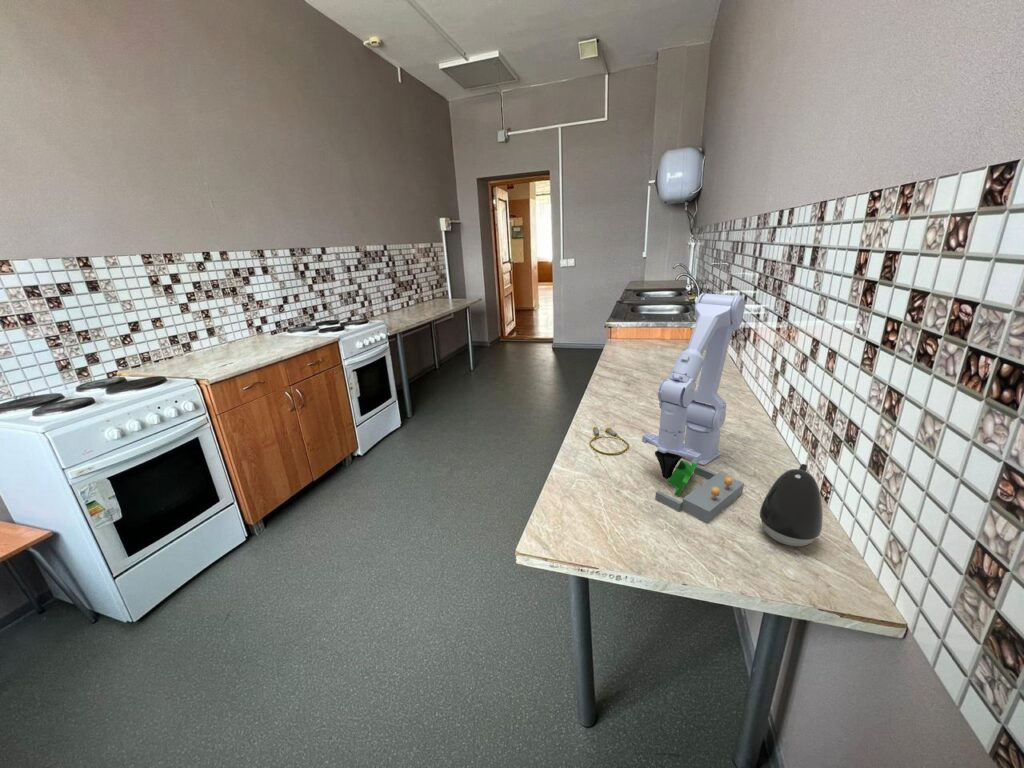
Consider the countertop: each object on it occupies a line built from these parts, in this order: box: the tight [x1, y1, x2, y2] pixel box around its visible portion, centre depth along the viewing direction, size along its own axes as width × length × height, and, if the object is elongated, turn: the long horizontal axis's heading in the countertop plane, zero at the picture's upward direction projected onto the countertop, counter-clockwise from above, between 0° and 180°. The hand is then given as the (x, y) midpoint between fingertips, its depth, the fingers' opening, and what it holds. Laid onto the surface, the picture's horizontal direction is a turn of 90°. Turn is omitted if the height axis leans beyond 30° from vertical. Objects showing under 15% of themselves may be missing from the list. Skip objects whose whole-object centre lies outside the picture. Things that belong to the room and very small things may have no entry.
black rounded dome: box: [759, 463, 824, 547], centre depth 79 cm, size 10×10×15 cm
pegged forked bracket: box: [654, 465, 745, 524], centre depth 94 cm, size 18×12×6 cm, turn 128°
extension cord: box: [589, 426, 630, 456], centre depth 121 cm, size 12×16×2 cm
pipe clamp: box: [667, 459, 699, 497], centre depth 99 cm, size 11×4×5 cm, turn 143°
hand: (666, 476), depth 101 cm, fingers closed
